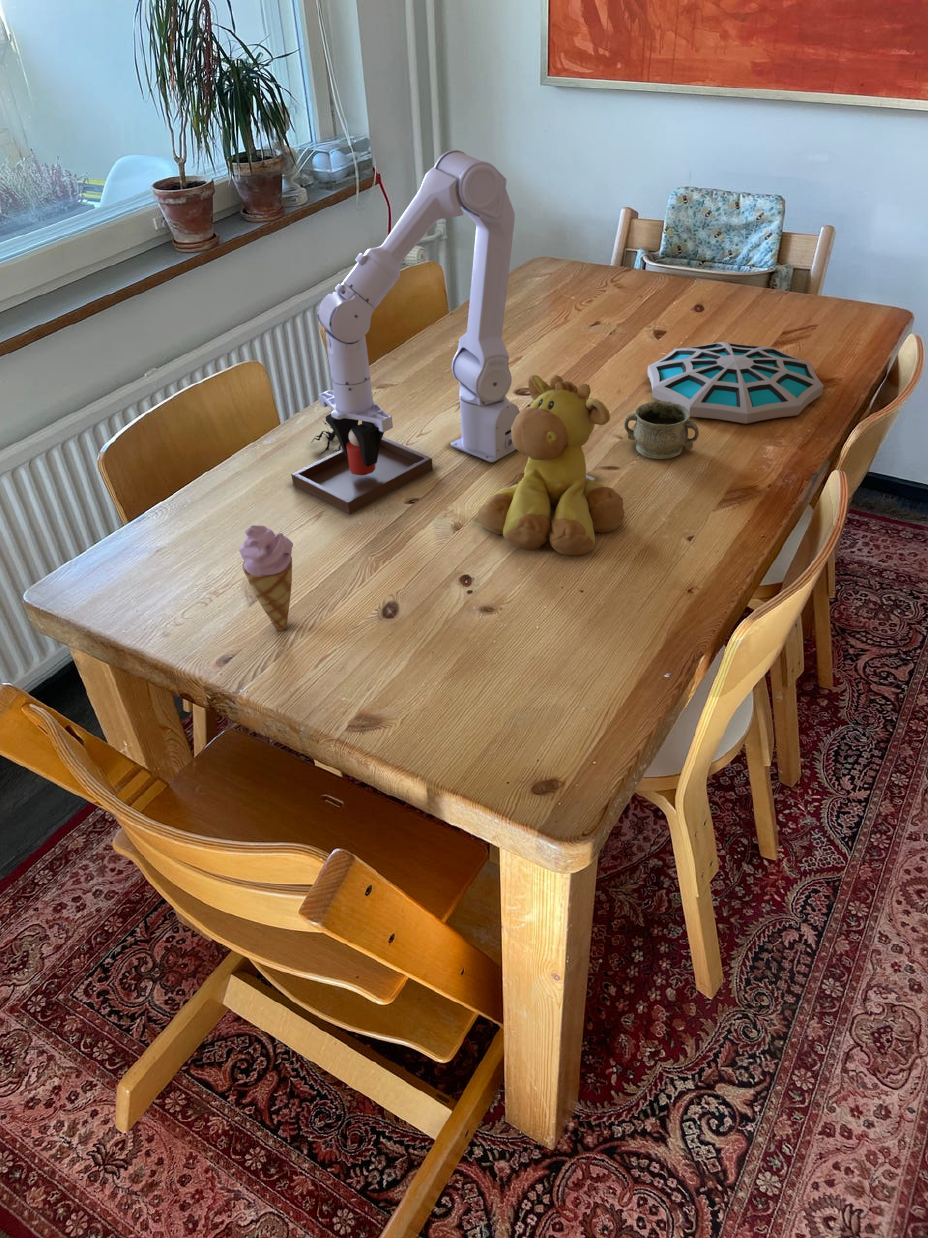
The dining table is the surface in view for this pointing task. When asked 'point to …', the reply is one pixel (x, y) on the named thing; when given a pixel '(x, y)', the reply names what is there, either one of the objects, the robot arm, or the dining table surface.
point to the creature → (330, 438)
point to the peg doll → (356, 457)
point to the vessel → (661, 429)
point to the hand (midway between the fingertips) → (361, 459)
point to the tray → (361, 476)
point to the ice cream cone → (269, 571)
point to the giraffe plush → (554, 474)
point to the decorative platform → (735, 382)
